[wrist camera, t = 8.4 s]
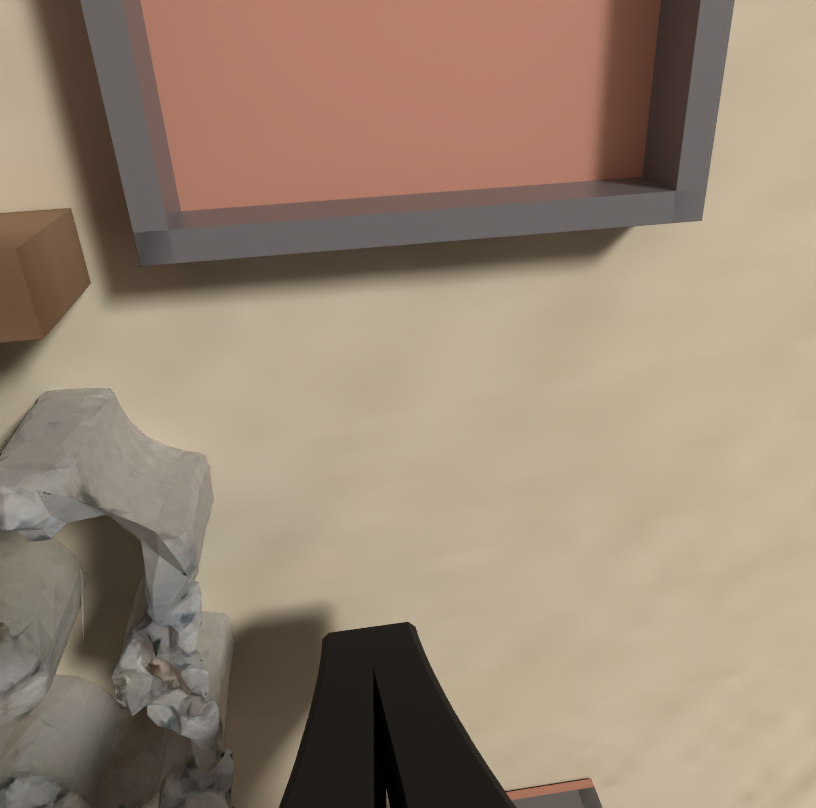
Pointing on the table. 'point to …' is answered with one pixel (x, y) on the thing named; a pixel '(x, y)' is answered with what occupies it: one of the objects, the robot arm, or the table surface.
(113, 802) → the grey jagged block
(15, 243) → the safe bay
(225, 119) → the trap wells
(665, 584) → the table surface
